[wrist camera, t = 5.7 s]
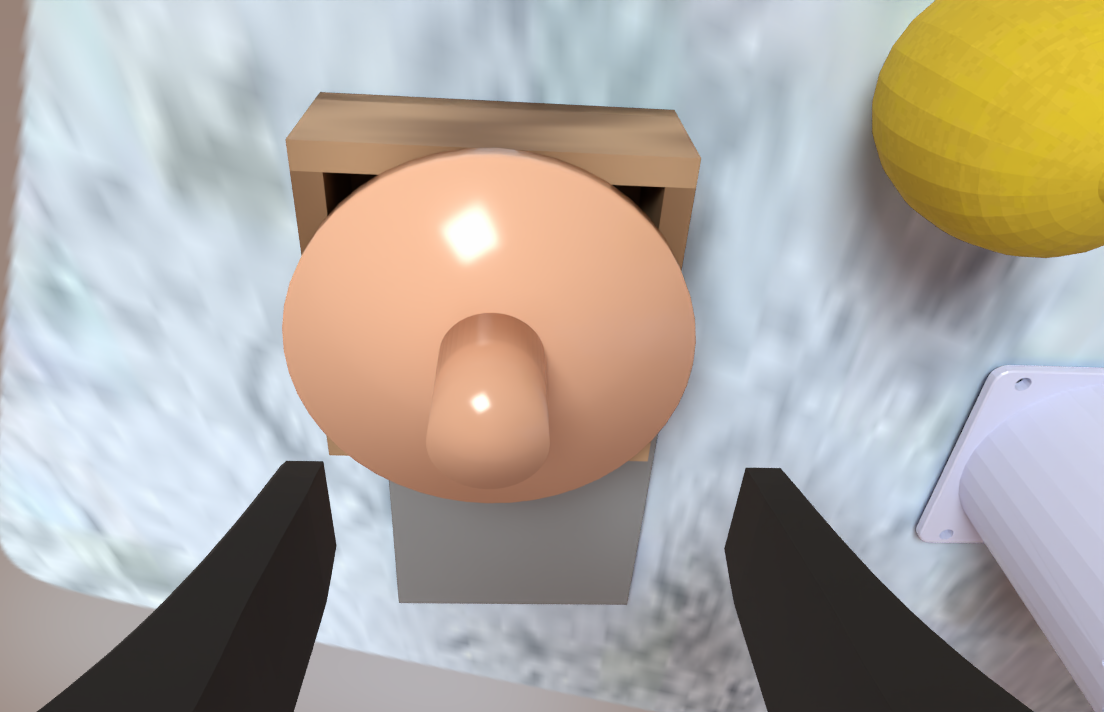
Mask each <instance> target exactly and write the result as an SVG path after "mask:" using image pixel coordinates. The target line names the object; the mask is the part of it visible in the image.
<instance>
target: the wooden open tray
mask: <svg viewBox="0 0 1104 712" xmlns="http://www.w3.org/2000/svg"><path fill="white" fill-rule="evenodd" d="M286 146H287V153H288V161H289V168H290V175H291V182H292V190H293V197H294V204H295V211H296V218H297V226H298V233H299V240H300V247H301V255H302V254H303V252H304V250H305V248H306V246H307V244H308V243H309V241H310V240H311V238H312V236H313V235H314V233H315V232H316V230H317V229H318V227H319V226H320V224H321V223H322V221H323V220H324V219H325V218H326V217H327V216H328V215H329V214H330V213H331V211H332V210H333V209H334V208H335V207H336V206H337V205H338V204H339V203H340V202H341V201H342V200H343V199H345V198H346V197H347V196H348V195H349V194H351V193H352V192H353V191H354V190H356V189H357V188H358V187H359V186H361V185H362V184H364V183H366V182H367V181H369V180H371V179H372V178H374V177H376V176H377V175H379V174H380V173H382V172H384V171H386V170H389V169H391V168H393V167H396V166H398V165H400V164H403V163H405V162H407V161H410V160H413V159H417V158H420V157H424V156H427V155H431V154H435V153H438V152H445V151H452V150H459V149H466V148H503V149H512V150H521V151H529V152H533V153H537V154H541V155H545V156H549V157H553V158H557V159H560V160H562V161H565V162H567V163H570V164H572V165H575V166H578V167H580V168H583V169H585V170H587V171H589V172H590V173H592V174H594V175H596V176H598V177H599V178H601V179H603V180H605V181H607V182H609V183H610V184H611V185H613V186H614V187H615V188H617V189H618V190H619V191H621V192H622V193H624V194H625V195H626V196H628V197H629V198H630V199H631V200H632V201H633V202H635V203H636V204H637V205H638V206H639V207H640V208H641V209H642V210H643V211H644V212H645V213H646V214H647V215H648V216H649V217H650V219H651V220H652V221H653V222H654V224H655V225H656V226H657V228H658V229H659V230H660V232H661V233H662V234H663V236H664V237H665V239H666V240H667V242H668V244H669V246H670V248H671V250H672V251H673V253H674V255H675V257H676V259H677V261H678V264H679V267H680V269H682V264H683V258H684V252H685V247H686V241H687V235H688V230H689V224H690V218H691V213H692V207H693V202H694V196H695V190H696V185H697V179H698V173H699V168H700V162H701V157H700V156H699V154H698V152H697V150H696V148H695V146H694V145H693V143H692V141H691V139H690V137H689V136H688V134H687V132H686V130H685V128H684V127H683V125H682V123H681V121H680V119H679V118H678V116H677V114H676V112H675V110H664V109H644V108H624V107H604V106H585V105H565V104H545V103H525V102H505V101H485V100H465V99H445V98H425V97H405V96H385V95H366V94H346V93H326V92H320V93H319V94H318V96H317V97H316V98H315V100H314V101H313V103H312V104H311V105H310V107H309V108H308V109H307V111H306V112H305V113H304V115H303V116H302V118H301V119H300V120H299V122H298V123H297V124H296V126H295V127H294V128H293V130H292V131H291V132H290V134H289V135H288V137H287V138H286ZM327 442H328V449H329V455H346V456H349V455H348V454H347V453H345V452H344V451H343V450H341V449H340V448H339V447H338V446H337V445H336V444H335V443H334V442H333V441H332V440H331V439H330V438H329V437H328V436H327ZM650 445H651V441H650V442H649V443H648V444H647V445H646V446H645V447H644V448H643V449H642V450H641V451H640V452H639V453H638V454H636V455H635V456H634V457H632V458H631V459H630V460H628V461H648V456H649V450H650Z"/></svg>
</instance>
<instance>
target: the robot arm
mask: <svg viewBox="0 0 1104 712" xmlns="http://www.w3.org/2000/svg"><path fill="white" fill-rule="evenodd" d="M1022 378H1023V379H1022ZM1020 379H1022V381H1020V382H1018V383H1016V382H1017V381H1018V380H1020ZM916 532H917V534H918V536H919V537H920V539H921V540H922V541H924V542H934V543H985V544H986V546H987V547H988V549H989V550H990V552H991V553H992V555H993V557H994V558H995V560H996V561H997V563H998V564H999V566H1000V567H1001V569H1002V570H1003V572H1004V573H1005V575H1006V576H1007V578H1008V580H1009V581H1010V583H1011V584H1012V586H1013V587H1014V589H1015V590H1016V592H1017V593H1018V595H1019V596H1020V598H1021V599H1022V601H1023V603H1024V604H1025V606H1026V607H1027V609H1028V610H1029V612H1030V613H1031V615H1032V616H1033V618H1034V619H1035V621H1036V622H1037V624H1038V626H1039V627H1040V629H1041V630H1042V632H1043V633H1044V635H1045V636H1046V638H1047V639H1048V641H1049V642H1050V644H1051V645H1052V647H1053V649H1054V650H1055V652H1056V653H1057V655H1058V656H1059V658H1060V659H1061V661H1062V662H1063V664H1064V665H1065V667H1066V669H1067V670H1068V672H1069V673H1070V675H1071V676H1072V678H1073V679H1074V681H1075V682H1076V684H1077V685H1078V687H1079V688H1080V690H1081V692H1082V693H1083V695H1084V696H1085V698H1086V699H1087V701H1088V702H1089V704H1090V705H1091V707H1092V708H1093V710H1094V711H1095V712H1104V368H1096V367H1062V366H1027V365H1005V366H1001V367H998V368H996V369H995V370H993V371H992V372H991V373H990V375H989V376H988V378H987V380H986V382H985V384H984V386H983V388H982V390H981V392H980V395H979V397H978V399H977V401H976V403H975V405H974V407H973V409H972V411H971V414H970V416H969V418H968V420H967V422H966V424H965V426H964V428H963V430H962V432H961V435H960V437H959V439H958V441H957V443H956V445H955V447H954V449H953V451H952V454H951V456H950V458H949V460H948V462H947V464H946V466H945V468H944V470H943V472H942V475H941V477H940V479H939V481H938V483H937V485H936V487H935V489H934V491H933V494H932V496H931V498H930V500H929V502H928V504H927V506H926V508H925V510H924V512H923V515H922V517H921V519H920V521H919V523H918V525H917V528H916ZM724 549H725V555H726V561H727V567H728V573H729V579H730V584H731V589H732V594H733V600H734V604H735V608H736V611H737V615H738V618H739V621H740V624H741V628H742V631H743V634H744V637H745V641H746V644H747V647H748V650H749V654H750V657H751V660H752V663H753V666H754V669H755V673H756V676H757V679H758V682H759V685H760V688H761V692H762V695H763V698H764V701H765V704H766V708H767V711H768V712H1034V711H1032V710H1031V709H1029V708H1028V707H1027V706H1025V705H1024V704H1023V703H1021V702H1020V701H1019V700H1017V699H1016V698H1015V697H1013V696H1012V695H1011V694H1009V693H1008V692H1007V691H1005V690H1004V689H1003V688H1002V687H1000V686H999V685H998V684H996V683H995V682H994V681H992V680H991V679H990V678H988V677H987V676H986V675H985V674H983V673H982V672H981V671H980V670H978V669H977V668H976V667H975V666H973V665H972V664H971V663H970V662H968V661H967V660H966V659H965V658H964V657H962V656H961V655H960V654H959V653H958V652H957V651H955V650H954V649H953V648H952V647H951V646H950V645H948V644H947V643H946V642H945V641H944V640H943V639H942V638H940V637H939V636H938V635H937V634H936V633H935V632H933V631H932V630H931V629H930V628H929V627H928V626H927V625H926V624H924V623H923V622H922V621H921V620H920V619H919V618H918V617H917V616H916V615H915V614H914V613H913V612H911V611H910V610H909V609H908V608H907V607H906V606H905V605H904V604H903V603H902V602H901V601H900V600H899V599H898V598H897V597H896V596H895V595H894V594H893V593H892V592H891V591H890V590H889V589H888V588H887V587H886V586H885V585H884V584H883V583H882V582H881V581H880V580H879V579H878V578H877V577H876V576H875V575H874V574H873V573H872V572H871V571H870V570H869V568H868V567H867V566H866V565H865V564H864V563H863V562H862V561H861V560H860V559H859V558H858V556H857V555H856V554H855V553H854V552H853V551H852V550H851V549H850V548H849V547H848V546H847V545H846V543H845V542H844V541H843V540H842V539H841V538H840V537H839V536H838V534H837V533H836V532H835V531H834V530H833V529H832V528H831V526H830V525H829V524H828V523H827V522H826V521H825V520H824V518H823V517H822V516H821V515H820V514H819V513H818V511H817V510H816V509H815V508H814V507H813V506H812V504H811V503H810V502H809V501H808V500H807V499H806V497H805V496H804V495H803V494H802V493H801V491H800V490H799V489H798V488H797V487H796V486H795V484H794V483H793V482H792V481H791V480H790V479H789V477H788V476H787V475H786V474H785V473H784V472H783V471H782V469H781V468H746V469H745V473H744V477H743V480H742V484H741V488H740V492H739V495H738V499H737V503H736V507H735V511H734V514H733V518H732V522H731V526H730V529H729V533H728V537H727V541H726V545H725V548H724ZM335 551H336V540H335V533H334V527H333V520H332V514H331V508H330V501H329V495H328V488H327V482H326V476H325V469H324V463H323V461H286V462H285V463H283V464H282V465H281V466H280V467H279V469H278V470H277V471H276V473H275V474H274V475H273V476H272V478H271V479H270V480H269V482H268V483H267V484H266V485H265V487H264V488H263V489H262V491H261V492H260V493H259V494H258V496H257V497H256V498H255V499H254V501H253V502H252V503H251V504H250V506H249V507H248V508H247V509H246V511H245V512H244V513H243V514H242V515H241V517H240V518H239V519H238V520H237V522H236V523H235V524H234V525H233V526H232V527H231V529H230V530H229V531H228V532H227V533H226V534H225V536H224V537H223V538H222V539H221V540H220V541H219V542H218V544H217V545H216V546H215V547H214V548H213V549H212V551H211V552H210V553H209V554H208V555H207V556H206V557H205V559H204V560H203V561H202V562H201V563H200V564H199V565H198V566H197V567H196V568H195V569H194V570H193V571H192V573H191V574H190V575H189V576H188V577H187V578H186V579H185V580H184V581H183V582H182V583H181V584H180V585H179V586H178V587H177V588H176V589H175V590H174V591H173V592H172V593H171V595H170V596H169V597H168V598H167V599H166V600H165V601H164V602H163V603H162V604H161V605H160V606H159V607H158V608H157V609H156V610H155V611H154V612H153V613H152V614H151V615H150V616H148V618H147V619H145V621H143V622H142V623H141V624H140V625H139V626H138V627H137V628H136V629H135V630H134V631H133V632H132V633H131V634H129V635H128V636H127V637H126V638H125V639H124V640H123V641H122V642H121V643H119V644H118V645H117V646H116V647H115V648H114V649H113V650H112V651H111V652H109V653H108V654H107V655H106V656H105V657H104V658H102V659H101V660H100V661H99V662H98V663H96V664H95V665H94V666H93V667H92V668H91V669H89V670H88V671H87V672H86V673H84V674H83V675H82V676H81V677H80V678H78V679H77V680H76V681H75V682H74V683H73V684H71V685H70V686H69V687H68V688H66V689H65V690H64V691H63V692H61V693H60V694H59V695H58V696H56V697H55V698H54V699H53V700H51V701H50V702H49V703H47V704H46V705H45V706H44V707H43V708H41V709H40V710H38V711H37V712H294V709H295V705H296V702H297V699H298V696H299V692H300V689H301V686H302V682H303V679H304V676H305V673H306V669H307V666H308V663H309V659H310V656H311V653H312V650H313V646H314V643H315V639H316V636H317V633H318V629H319V626H320V623H321V619H322V616H323V612H324V609H325V605H326V602H327V597H328V591H329V586H330V580H331V575H332V569H333V563H334V557H335Z"/></svg>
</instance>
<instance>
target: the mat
mask: <svg viewBox="0 0 1104 712" xmlns="http://www.w3.org/2000/svg"><path fill="white" fill-rule="evenodd" d="M657 436H658V434H657V435H656V436H655V437H654V438H653V440H652V441H651V445H650V450H649V456H648V461H627V462H626V463H624V464H623V465H622V466H620V467H619V468H617V469H615V470H614V471H612V472H610V473H608V474H607V475H605V476H603V477H601V478H600V479H598V480H595V481H593V482H591V483H588V484H586V485H584V486H582V487H579V488H577V489H574V490H571V491H567V492H564V493H561V494H558V495H554V496H550V497H545V498H541V499H536V500H529V501H521V502H513V503H476V502H463V501H457V500H451V499H445V498H440V497H436V496H432V495H428V494H424V493H421V492H418V491H415V490H412V489H409V488H407V487H404V486H401V485H398V484H396V483H394V482H392V481H390V480H389V487H390V499H391V511H392V524H393V536H394V548H395V560H396V573H397V585H398V597H399V603H477V604H617V605H627V601H628V595H629V590H630V584H631V579H632V574H633V568H634V563H635V557H636V552H637V546H638V541H639V535H640V530H641V524H642V519H643V513H644V508H645V502H646V497H647V491H648V486H649V480H650V475H651V469H652V464H653V458H654V453H655V447H656V442H657Z"/></svg>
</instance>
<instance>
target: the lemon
mask: <svg viewBox="0 0 1104 712" xmlns="http://www.w3.org/2000/svg"><path fill="white" fill-rule="evenodd" d="M872 134H873V138H874V141H875V145H876V148H877V151H878V155H879V158H880V161H881V165H882V167H883V169H884V171H885V173H886V174H887V176H888V177H889V179H890V180H891V182H892V183H893V184H894V186H895V187H896V189H897V190H898V192H899V193H900V195H901V196H902V198H903V199H904V200H905V201H906V202H907V204H908V205H909V206H910V207H911V208H913V209H914V210H915V211H916V212H918V213H919V214H920V215H922V216H923V217H924V218H926V219H927V220H928V221H930V222H931V223H932V224H934V225H935V226H937V227H938V228H939V229H941V230H942V231H944V232H946V233H947V234H949V235H951V236H953V237H955V238H957V239H959V240H962V241H965V242H967V243H970V244H973V245H976V246H979V247H982V248H985V249H988V250H991V251H994V252H998V253H1002V254H1005V255H1012V256H1022V257H1040V258H1050V257H1059V256H1065V255H1071V254H1077V253H1083V252H1087V251H1090V250H1093V249H1095V248H1098V247H1101V246H1103V245H1104V0H935V1H934V2H933V3H932V4H931V5H930V6H928V7H927V8H926V9H925V10H924V11H923V12H922V13H920V14H919V15H918V16H917V17H916V18H915V19H914V20H913V21H912V22H911V23H910V24H909V26H908V27H907V28H906V30H905V31H904V32H903V34H902V35H901V36H900V37H899V39H898V40H897V41H896V43H895V44H894V45H893V47H892V49H891V51H890V53H889V55H888V57H887V59H886V61H885V63H884V65H883V67H882V69H881V71H880V73H879V77H878V81H877V85H876V89H875V93H874V97H873V101H872Z"/></svg>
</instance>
